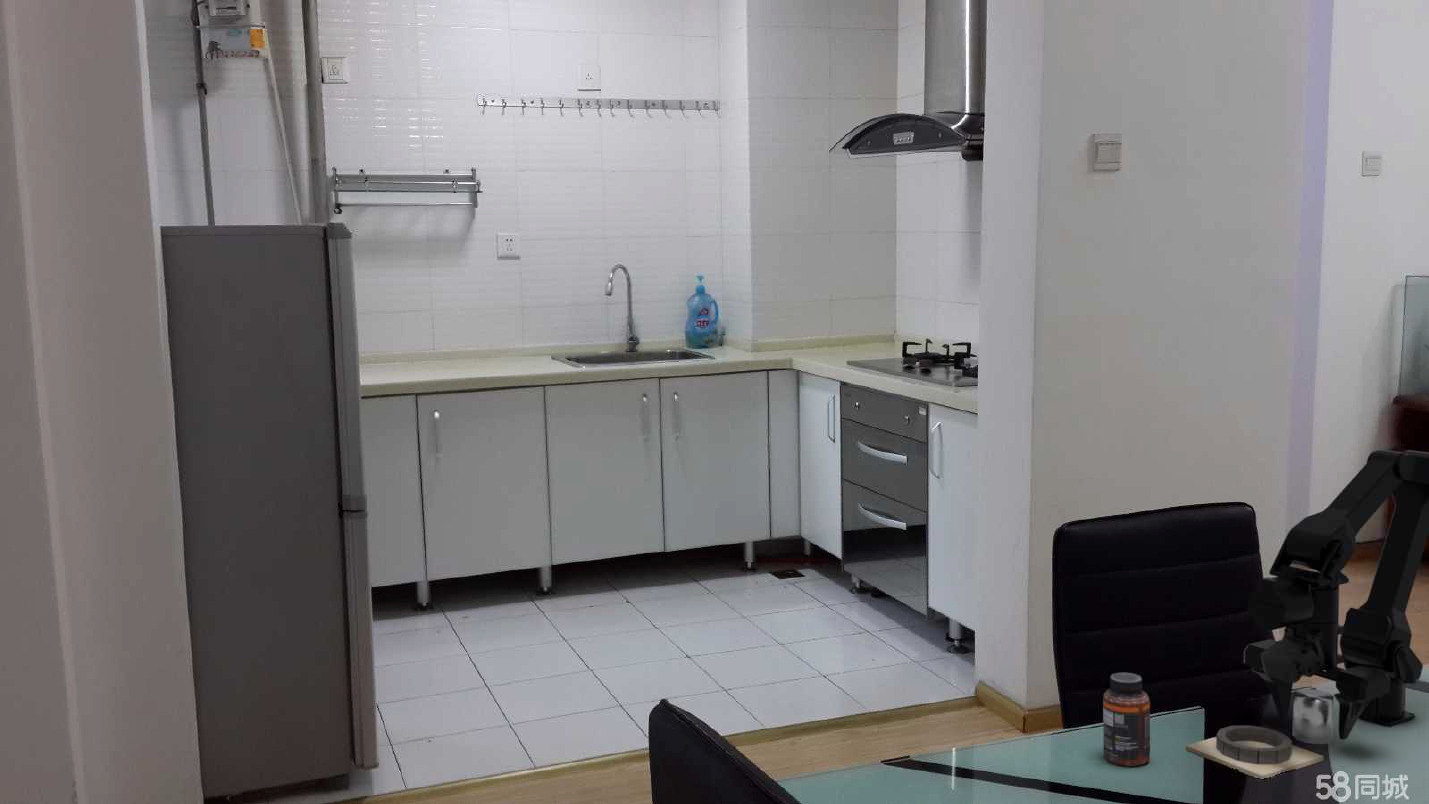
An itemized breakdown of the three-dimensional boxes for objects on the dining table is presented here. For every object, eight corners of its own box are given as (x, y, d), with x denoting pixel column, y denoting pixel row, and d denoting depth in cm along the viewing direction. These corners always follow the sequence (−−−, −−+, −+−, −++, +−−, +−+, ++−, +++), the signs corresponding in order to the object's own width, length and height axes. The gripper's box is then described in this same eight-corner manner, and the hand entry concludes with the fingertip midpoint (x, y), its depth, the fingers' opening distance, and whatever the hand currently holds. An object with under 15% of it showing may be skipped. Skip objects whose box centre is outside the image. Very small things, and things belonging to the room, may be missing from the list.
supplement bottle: (1144, 750, 169) (1144, 669, 168) (1155, 768, 163) (1155, 684, 162) (1098, 750, 169) (1099, 669, 168) (1108, 767, 164) (1108, 684, 162)
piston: (1308, 728, 175) (1309, 687, 175) (1340, 739, 171) (1341, 697, 170) (1284, 735, 173) (1285, 693, 172) (1316, 747, 168) (1317, 704, 168)
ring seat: (1246, 732, 174) (1246, 715, 174) (1323, 760, 164) (1323, 743, 164) (1185, 749, 169) (1186, 732, 168) (1261, 780, 158) (1262, 762, 158)
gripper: (1217, 611, 174) (1216, 719, 176) (1339, 645, 158) (1336, 763, 160) (1271, 600, 180) (1269, 704, 181) (1394, 631, 163) (1390, 745, 165)
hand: (1312, 728), depth 172 cm, fingers open, 9 cm apart
